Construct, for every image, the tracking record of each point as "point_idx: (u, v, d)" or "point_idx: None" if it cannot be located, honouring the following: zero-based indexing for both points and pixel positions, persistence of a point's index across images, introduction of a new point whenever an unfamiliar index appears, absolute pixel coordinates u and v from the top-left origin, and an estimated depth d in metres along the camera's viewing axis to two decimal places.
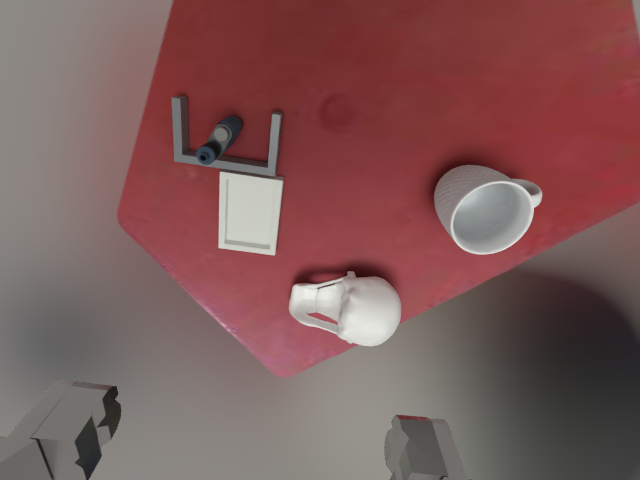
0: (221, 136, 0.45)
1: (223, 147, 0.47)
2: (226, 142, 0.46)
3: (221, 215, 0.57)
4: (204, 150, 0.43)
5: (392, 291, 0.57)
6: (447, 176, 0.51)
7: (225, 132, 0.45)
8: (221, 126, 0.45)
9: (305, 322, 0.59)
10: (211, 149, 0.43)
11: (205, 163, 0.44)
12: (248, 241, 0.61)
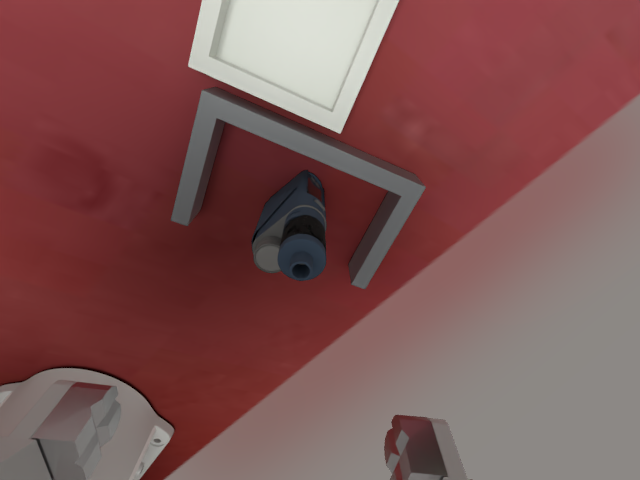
0: (270, 255, 0.19)
1: (280, 223, 0.19)
2: (270, 231, 0.20)
3: (391, 0, 0.19)
4: None
5: None
6: None
7: (258, 260, 0.20)
8: None
9: None
10: None
11: (308, 243, 0.16)
12: None
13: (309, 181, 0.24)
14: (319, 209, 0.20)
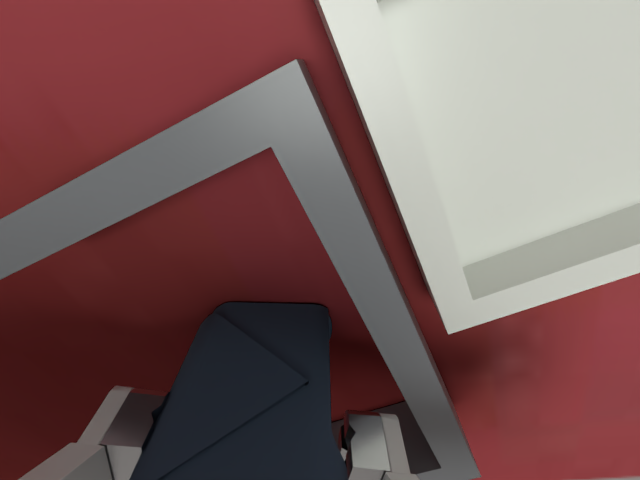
0: None
1: None
2: None
3: None
4: None
5: None
6: None
7: None
8: None
9: None
10: None
11: None
12: None
13: None
14: None
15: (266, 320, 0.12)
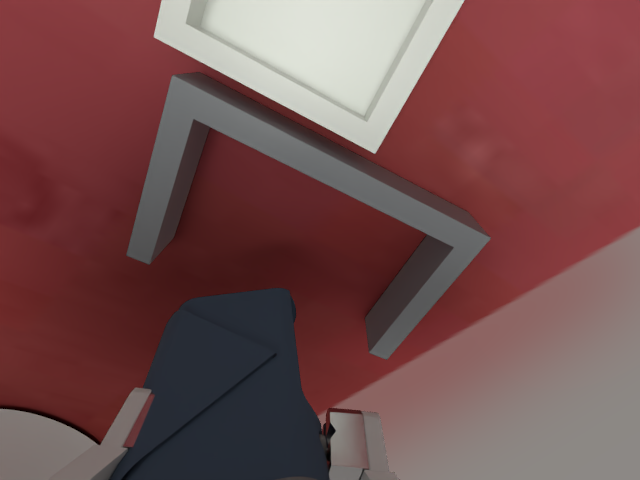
0: None
1: None
2: None
3: None
4: None
5: None
6: None
7: None
8: None
9: None
10: None
11: None
12: None
13: None
14: None
15: (231, 308, 0.12)
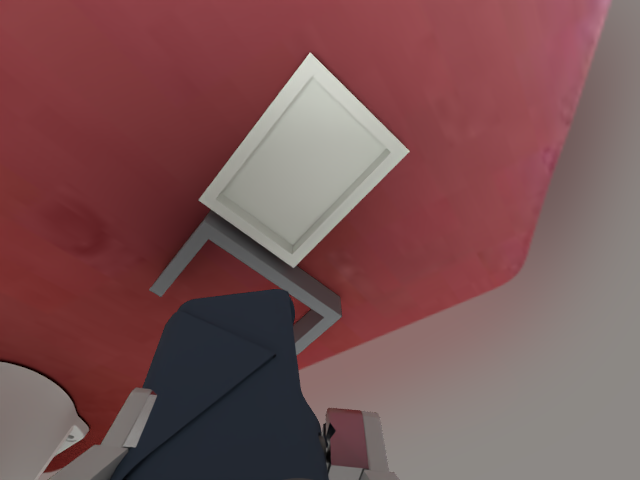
0: None
1: None
2: None
3: (348, 206, 0.28)
4: None
5: None
6: None
7: None
8: None
9: None
10: None
11: None
12: (350, 115, 0.26)
13: None
14: None
15: (230, 309, 0.12)
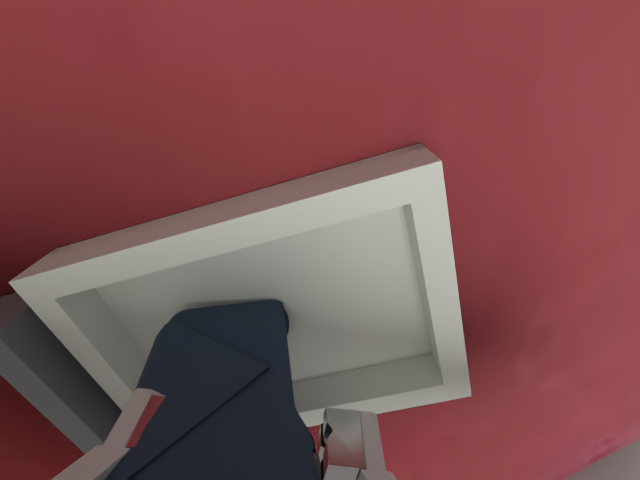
0: None
1: None
2: None
3: (317, 419, 0.14)
4: None
5: None
6: None
7: None
8: None
9: None
10: None
11: None
12: (413, 284, 0.13)
13: None
14: None
15: (223, 320, 0.12)
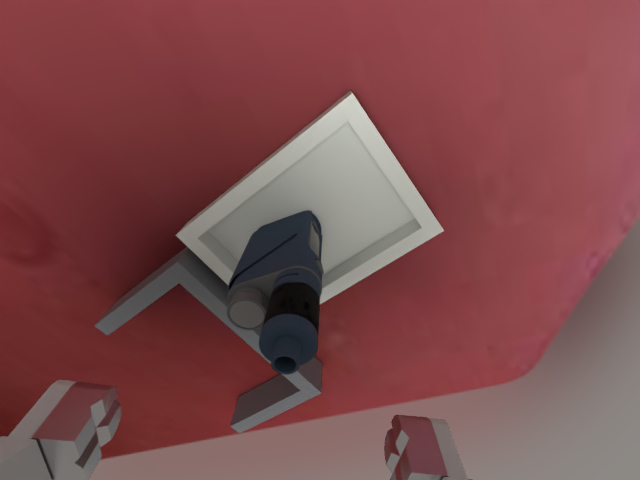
0: (247, 311, 0.16)
1: (270, 277, 0.17)
2: (255, 282, 0.17)
3: (356, 277, 0.23)
4: None
5: None
6: None
7: (231, 312, 0.16)
8: None
9: None
10: None
11: (303, 332, 0.13)
12: (381, 173, 0.21)
13: (311, 227, 0.21)
14: (319, 274, 0.17)
15: (279, 224, 0.22)
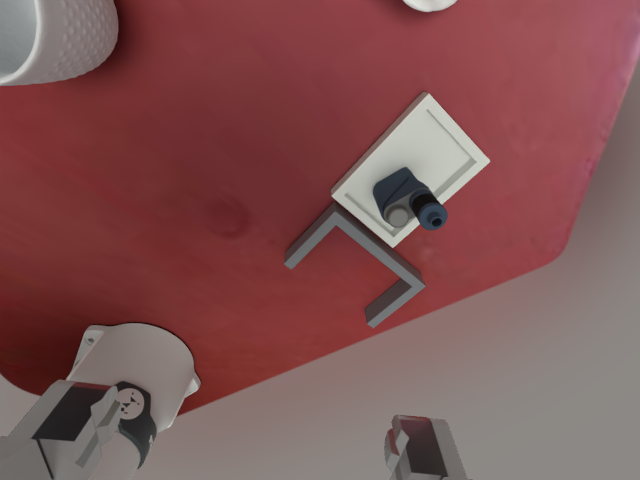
0: (399, 216, 0.31)
1: (407, 197, 0.32)
2: (399, 202, 0.32)
3: (440, 201, 0.38)
4: (429, 224, 0.29)
5: None
6: None
7: (390, 218, 0.32)
8: None
9: None
10: (419, 221, 0.29)
11: (440, 208, 0.28)
12: (447, 135, 0.36)
13: None
14: (431, 192, 0.32)
15: (390, 178, 0.37)
